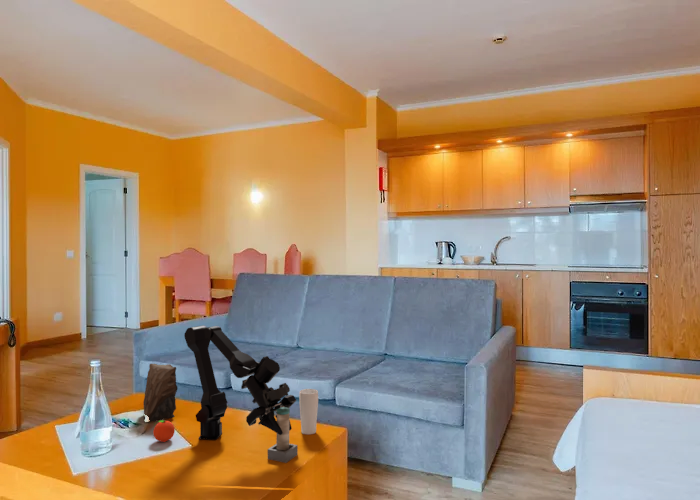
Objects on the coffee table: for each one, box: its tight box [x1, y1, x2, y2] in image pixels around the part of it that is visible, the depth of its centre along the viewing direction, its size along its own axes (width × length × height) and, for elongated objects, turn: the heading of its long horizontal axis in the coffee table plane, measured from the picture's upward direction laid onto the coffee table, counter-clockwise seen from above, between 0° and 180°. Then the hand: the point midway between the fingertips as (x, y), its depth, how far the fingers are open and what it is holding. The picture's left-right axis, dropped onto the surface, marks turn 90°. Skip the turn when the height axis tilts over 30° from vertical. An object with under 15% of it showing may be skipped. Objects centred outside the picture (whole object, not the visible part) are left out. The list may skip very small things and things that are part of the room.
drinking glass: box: [298, 388, 319, 435], centre depth 182 cm, size 7×7×15 cm
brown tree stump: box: [143, 363, 178, 422], centre depth 200 cm, size 13×13×20 cm
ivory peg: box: [275, 407, 291, 452], centre depth 161 cm, size 4×4×14 cm
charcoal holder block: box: [267, 443, 299, 464], centre depth 161 cm, size 7×7×4 cm
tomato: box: [153, 420, 176, 443], centre depth 175 cm, size 8×7×7 cm
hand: (286, 432), depth 160 cm, fingers closed on ivory peg, 4 cm apart
